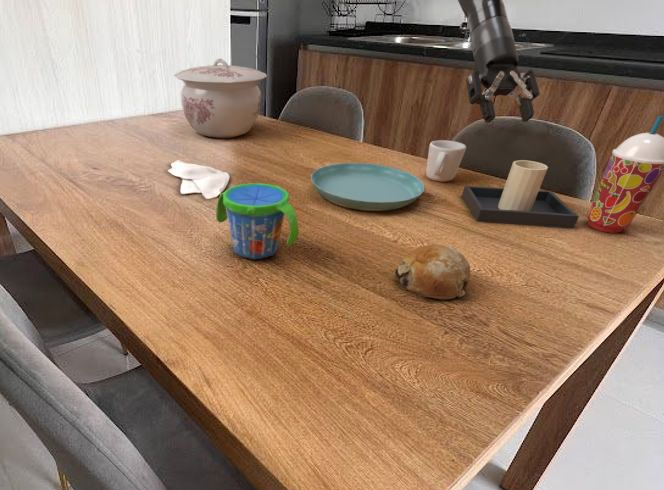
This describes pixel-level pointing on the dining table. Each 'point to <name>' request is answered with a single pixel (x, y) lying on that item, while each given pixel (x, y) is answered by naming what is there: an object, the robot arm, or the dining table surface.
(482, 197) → the tray
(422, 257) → the bread roll
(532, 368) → the dining table surface
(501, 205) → the tumbler
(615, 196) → the smoothie
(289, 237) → the snack cup
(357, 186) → the teal plate
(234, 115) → the chamber pot
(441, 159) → the cup
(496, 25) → the robot arm
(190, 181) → the cloth
